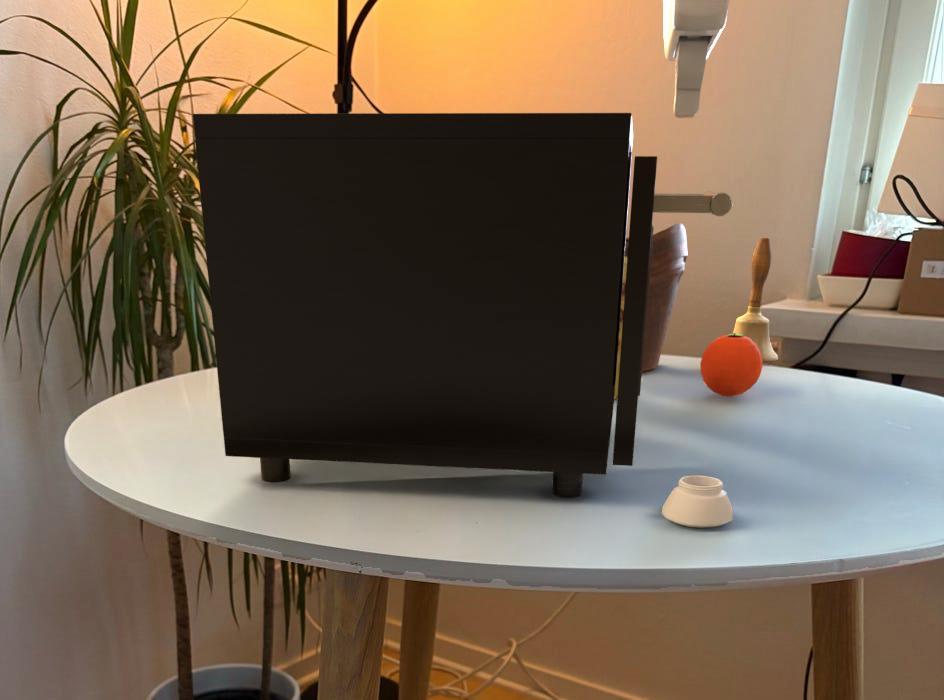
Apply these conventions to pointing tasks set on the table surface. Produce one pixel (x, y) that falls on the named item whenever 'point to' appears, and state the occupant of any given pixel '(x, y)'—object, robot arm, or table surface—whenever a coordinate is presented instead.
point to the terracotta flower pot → (662, 288)
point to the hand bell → (758, 303)
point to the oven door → (645, 288)
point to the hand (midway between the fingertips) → (685, 117)
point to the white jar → (698, 503)
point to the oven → (417, 287)
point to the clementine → (731, 365)
